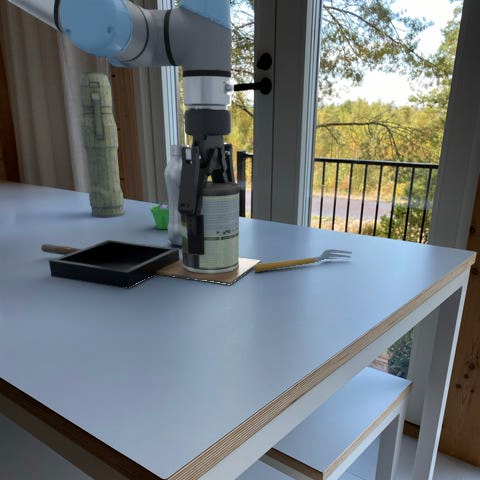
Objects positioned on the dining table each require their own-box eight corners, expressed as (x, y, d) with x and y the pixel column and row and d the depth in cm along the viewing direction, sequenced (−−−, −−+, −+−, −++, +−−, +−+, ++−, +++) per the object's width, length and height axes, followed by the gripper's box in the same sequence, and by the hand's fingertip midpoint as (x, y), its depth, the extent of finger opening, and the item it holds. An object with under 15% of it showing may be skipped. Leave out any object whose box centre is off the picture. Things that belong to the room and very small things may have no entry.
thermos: (94, 219, 125) (77, 70, 111) (89, 211, 135) (73, 73, 121) (128, 217, 128) (115, 71, 114) (120, 209, 138) (108, 75, 124)
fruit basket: (150, 229, 114) (147, 181, 110) (162, 222, 122) (159, 177, 118) (196, 232, 112) (194, 182, 108) (205, 224, 120) (204, 178, 116)
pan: (10, 269, 84) (7, 253, 83) (73, 248, 98) (71, 234, 97) (128, 288, 75) (127, 271, 74) (179, 262, 89) (179, 248, 87)
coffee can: (171, 270, 82) (167, 186, 76) (196, 255, 91) (194, 179, 85) (227, 277, 79) (227, 190, 73) (247, 260, 88) (248, 182, 82)
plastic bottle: (205, 243, 102) (202, 144, 94) (185, 250, 97) (180, 146, 89) (182, 239, 105) (178, 143, 97) (161, 246, 100) (155, 145, 92)
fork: (256, 265, 82) (353, 251, 89) (252, 260, 83) (347, 246, 90) (255, 278, 83) (350, 262, 90) (251, 272, 84) (344, 258, 92)
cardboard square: (156, 274, 82) (156, 271, 82) (195, 255, 94) (195, 252, 93) (230, 285, 77) (230, 282, 76) (261, 263, 89) (261, 260, 88)
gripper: (194, 106, 64) (199, 265, 73) (256, 109, 83) (254, 235, 92) (147, 107, 67) (157, 260, 75) (217, 109, 86) (219, 231, 94)
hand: (210, 246), depth 84 cm, fingers closed on coffee can, 10 cm apart
